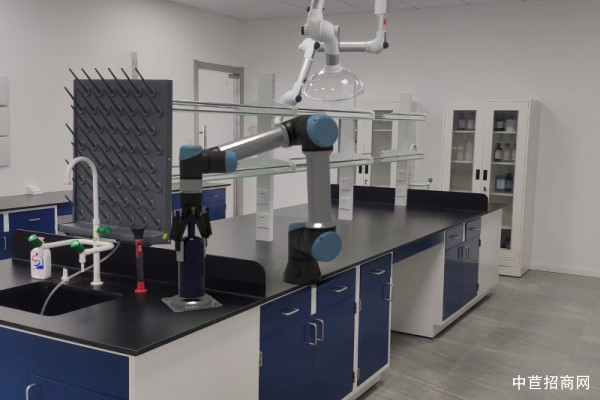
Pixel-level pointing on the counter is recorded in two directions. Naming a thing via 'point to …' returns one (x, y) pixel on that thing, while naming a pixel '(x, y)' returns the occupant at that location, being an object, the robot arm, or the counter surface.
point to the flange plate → (190, 303)
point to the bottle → (192, 264)
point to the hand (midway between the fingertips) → (191, 258)
